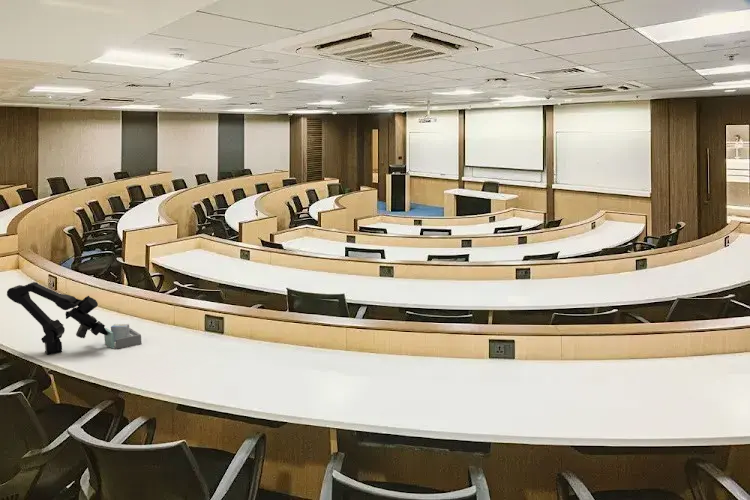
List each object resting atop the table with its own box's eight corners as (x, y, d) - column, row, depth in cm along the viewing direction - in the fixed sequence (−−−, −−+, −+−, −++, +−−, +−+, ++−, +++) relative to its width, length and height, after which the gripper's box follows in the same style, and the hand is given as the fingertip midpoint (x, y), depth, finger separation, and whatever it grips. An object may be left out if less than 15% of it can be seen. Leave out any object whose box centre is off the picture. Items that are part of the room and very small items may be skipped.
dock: (117, 349, 280) (116, 339, 280) (107, 341, 292) (106, 332, 291) (141, 344, 288) (140, 334, 288) (130, 336, 300) (130, 327, 299)
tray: (112, 348, 280) (111, 333, 279) (104, 342, 290) (103, 327, 288) (137, 343, 289) (136, 328, 287) (129, 337, 298) (128, 323, 297)
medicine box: (130, 339, 292) (129, 323, 290) (127, 342, 287) (126, 326, 286) (115, 339, 291) (114, 323, 290) (111, 342, 287) (110, 326, 285)
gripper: (65, 326, 279) (90, 343, 288) (74, 334, 265) (100, 352, 274) (81, 308, 283) (106, 325, 292) (91, 316, 269) (117, 334, 278)
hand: (107, 334), depth 284 cm, fingers closed, pressing on tray
